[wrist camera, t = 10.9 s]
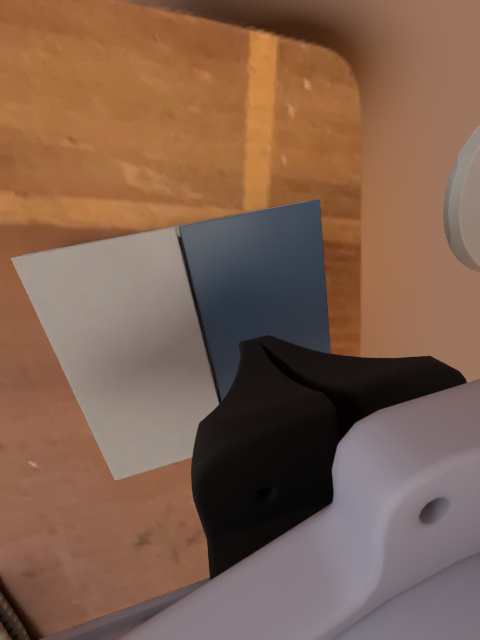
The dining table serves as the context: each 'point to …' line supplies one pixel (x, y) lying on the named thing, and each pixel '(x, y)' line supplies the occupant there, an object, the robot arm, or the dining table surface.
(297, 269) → the flap
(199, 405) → the carton
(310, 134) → the dining table surface
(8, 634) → the dish towel
